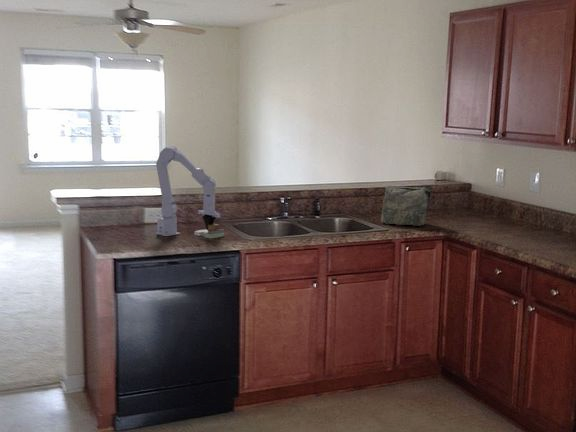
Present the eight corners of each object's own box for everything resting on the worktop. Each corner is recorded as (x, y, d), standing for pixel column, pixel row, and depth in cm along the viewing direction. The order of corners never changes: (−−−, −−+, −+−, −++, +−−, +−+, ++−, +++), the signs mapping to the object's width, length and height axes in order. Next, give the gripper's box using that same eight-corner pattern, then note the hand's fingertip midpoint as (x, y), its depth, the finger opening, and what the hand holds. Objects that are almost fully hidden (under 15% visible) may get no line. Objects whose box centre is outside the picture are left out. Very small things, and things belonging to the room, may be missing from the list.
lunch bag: (430, 223, 389) (432, 186, 386) (423, 228, 373) (426, 189, 369) (386, 219, 399) (388, 183, 395) (378, 224, 382) (380, 186, 379)
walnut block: (213, 233, 331) (213, 225, 330) (208, 232, 334) (208, 224, 333) (219, 232, 334) (219, 224, 333) (214, 231, 336) (214, 223, 336)
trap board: (210, 238, 329) (210, 231, 328) (194, 235, 337) (194, 228, 336) (223, 236, 336) (223, 229, 335) (207, 232, 343) (208, 226, 343)
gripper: (225, 204, 332) (224, 231, 334) (205, 200, 341) (205, 227, 344) (214, 205, 327) (214, 232, 329) (195, 202, 336) (194, 228, 338)
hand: (209, 230), depth 336 cm, fingers closed
